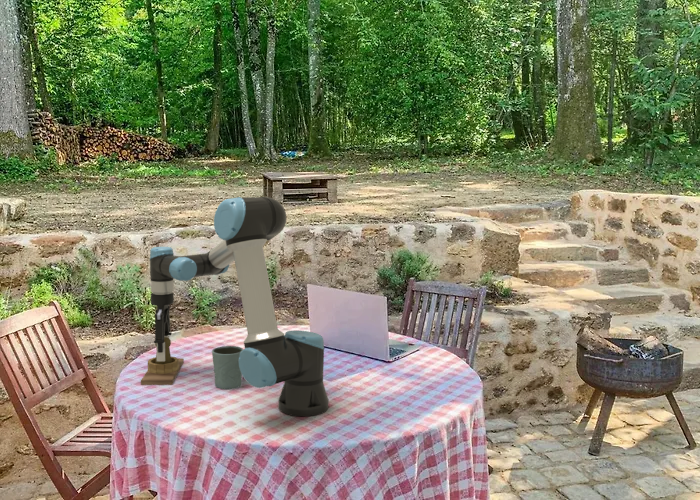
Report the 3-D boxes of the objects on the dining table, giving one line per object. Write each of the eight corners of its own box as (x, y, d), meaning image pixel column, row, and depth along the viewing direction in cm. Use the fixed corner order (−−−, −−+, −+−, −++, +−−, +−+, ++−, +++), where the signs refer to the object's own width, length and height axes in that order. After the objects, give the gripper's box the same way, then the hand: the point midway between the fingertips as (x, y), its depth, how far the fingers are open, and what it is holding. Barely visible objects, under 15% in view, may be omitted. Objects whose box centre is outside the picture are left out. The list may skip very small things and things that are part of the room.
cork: (167, 372, 221) (166, 341, 219) (151, 370, 222) (150, 339, 220) (175, 366, 227) (175, 336, 225) (159, 365, 228) (159, 334, 226)
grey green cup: (236, 391, 208) (236, 355, 207) (207, 388, 210) (206, 352, 209) (247, 381, 218) (247, 346, 217) (219, 378, 220) (219, 344, 219)
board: (172, 384, 213) (171, 371, 213) (140, 385, 212) (140, 371, 212) (183, 362, 237) (183, 350, 236) (155, 362, 236) (155, 350, 235)
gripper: (156, 286, 230) (157, 349, 233) (144, 298, 210) (145, 366, 213) (178, 286, 231) (179, 349, 234) (168, 298, 211) (169, 366, 214)
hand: (163, 357), depth 224 cm, fingers open, 7 cm apart
